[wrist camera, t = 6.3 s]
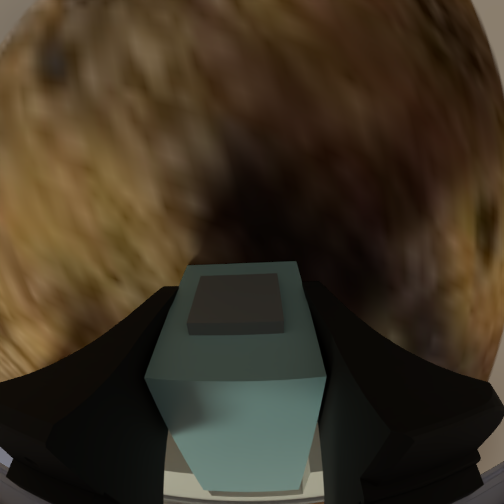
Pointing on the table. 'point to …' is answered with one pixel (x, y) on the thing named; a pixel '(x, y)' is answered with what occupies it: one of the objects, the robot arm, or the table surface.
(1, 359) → the table surface
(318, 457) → the block
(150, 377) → the grey-green boxy piece
